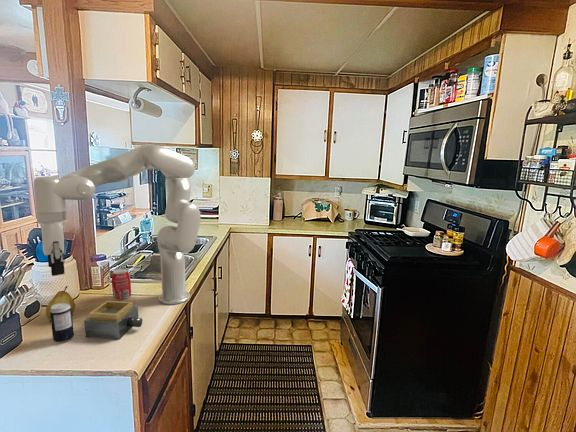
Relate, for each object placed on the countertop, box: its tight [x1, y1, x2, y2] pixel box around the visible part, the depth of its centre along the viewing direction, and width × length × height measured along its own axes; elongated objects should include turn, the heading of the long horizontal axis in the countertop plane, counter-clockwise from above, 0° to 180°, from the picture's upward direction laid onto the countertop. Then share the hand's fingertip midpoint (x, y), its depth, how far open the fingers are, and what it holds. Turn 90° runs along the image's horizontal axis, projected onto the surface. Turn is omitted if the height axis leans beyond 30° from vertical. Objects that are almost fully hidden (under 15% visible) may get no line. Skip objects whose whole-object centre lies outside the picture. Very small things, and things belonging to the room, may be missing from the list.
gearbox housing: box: [83, 300, 143, 340], centre depth 113 cm, size 12×16×8 cm
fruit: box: [45, 285, 76, 321], centre depth 119 cm, size 9×9×12 cm
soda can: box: [111, 268, 132, 301], centre depth 137 cm, size 7×7×12 cm
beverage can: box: [50, 302, 75, 344], centre depth 106 cm, size 6×6×12 cm
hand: (56, 270), depth 103 cm, fingers open, 9 cm apart
